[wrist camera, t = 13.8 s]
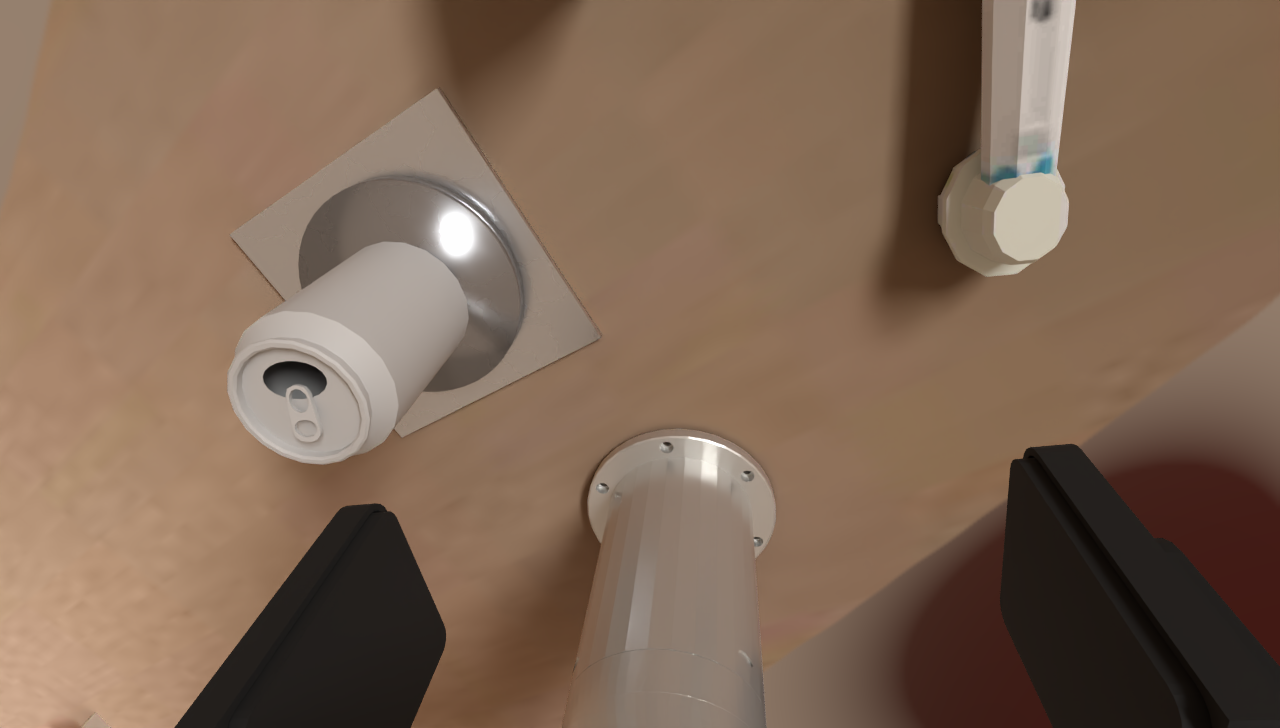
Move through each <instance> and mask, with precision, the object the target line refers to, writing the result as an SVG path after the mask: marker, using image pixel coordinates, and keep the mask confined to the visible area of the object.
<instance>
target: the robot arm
mask: <svg viewBox="0 0 1280 728" xmlns="http://www.w3.org/2000/svg"><path fill="white" fill-rule="evenodd" d="M587 504H588V517H589V520H590V524H591V527H592V530H593V531H594V533H595V535H596V537H597V539H598V541H599V542H600V543H601V547H600V552H599V557H598V561H597V566H596V570H595V575H594V579H593V584H592V588H591V593H590V597H589V602H588V607H587V611H586V616H585V620H584V625H583V629H582V634H581V638H580V643H579V648H578V652H577V657H576V661H575V666H574V670H573V675H572V681H571V685H570V690H569V694H568V698H567V703H566V708H565V713H564V717H563V724H562V728H766V714H765V699H764V684H763V669H762V654H761V639H760V624H759V609H758V594H757V579H756V564H755V559H756V558H757V557H758V556H759V555H760V553H761V552H762V551H763V550H764V549H765V548H766V546H767V544H768V542H769V540H770V538H771V536H772V534H773V530H774V526H775V522H776V505H775V498H774V492H773V489H772V486H771V484H770V481H769V478H768V477H767V475H766V474H765V472H764V471H763V469H762V468H761V466H760V465H759V464H758V463H757V462H756V461H755V460H754V459H753V458H752V457H751V456H750V455H749V454H748V453H747V452H746V451H744V450H743V449H741V448H740V447H738V446H737V445H735V444H734V443H732V442H730V441H728V440H726V439H723V438H721V437H719V436H717V435H713V434H709V433H706V432H702V431H698V430H688V429H665V430H658V431H653V432H649V433H644V434H641V435H639V436H637V437H634V438H632V439H630V440H627V441H626V442H624V443H623V444H621V445H620V446H618V447H617V448H615V449H614V450H613V451H612V452H611V453H610V454H609V455H608V456H607V457H606V458H605V459H604V460H603V461H602V462H601V464H600V465H599V467H598V469H597V470H596V472H595V474H594V477H593V480H592V483H591V486H590V490H589V495H588V500H587ZM1000 605H1001V611H1002V615H1003V619H1004V622H1005V625H1006V627H1007V630H1008V631H1009V634H1010V636H1011V638H1012V640H1013V642H1014V645H1015V647H1016V649H1017V651H1018V653H1019V655H1020V657H1021V659H1022V662H1023V664H1024V666H1025V668H1026V670H1027V673H1028V675H1029V677H1030V679H1031V681H1032V683H1033V685H1034V687H1035V690H1036V692H1037V694H1038V696H1039V698H1040V700H1041V703H1042V705H1043V707H1044V709H1045V711H1046V713H1047V716H1048V718H1049V720H1050V722H1051V724H1052V726H1053V728H1280V666H1279V665H1278V664H1277V663H1276V662H1275V661H1274V659H1273V658H1272V657H1271V656H1270V655H1269V654H1268V652H1267V651H1266V650H1265V649H1264V648H1263V646H1262V645H1261V644H1260V643H1259V642H1258V641H1257V640H1256V638H1255V637H1254V636H1253V635H1252V634H1251V633H1250V631H1249V630H1248V629H1247V628H1246V627H1245V625H1244V624H1243V623H1242V622H1241V621H1240V619H1239V618H1238V617H1237V616H1236V615H1235V614H1234V613H1233V611H1232V610H1231V609H1230V608H1229V607H1228V605H1227V604H1226V603H1225V602H1224V601H1223V600H1222V598H1221V597H1220V596H1219V595H1218V594H1217V592H1216V591H1215V590H1214V589H1213V588H1212V587H1211V586H1210V584H1209V583H1208V582H1207V581H1206V580H1205V578H1204V577H1203V576H1202V575H1201V574H1200V573H1199V571H1198V570H1197V569H1196V568H1195V567H1194V565H1193V564H1192V563H1191V562H1190V561H1189V560H1188V558H1187V557H1186V556H1185V555H1184V554H1183V553H1182V552H1181V551H1180V550H1179V549H1178V548H1177V547H1176V546H1175V545H1174V544H1173V543H1172V542H1170V541H1168V540H1165V539H1163V538H1153V536H1152V535H1151V534H1150V533H1149V531H1148V530H1147V529H1146V528H1145V527H1144V525H1143V524H1142V523H1141V522H1140V521H1139V519H1138V518H1137V517H1136V516H1135V514H1134V513H1133V512H1132V511H1131V510H1130V508H1129V507H1128V506H1127V505H1126V503H1125V502H1124V501H1123V500H1122V499H1121V497H1120V496H1119V495H1118V494H1117V493H1116V491H1115V490H1114V489H1113V488H1112V486H1111V485H1110V484H1109V483H1108V482H1107V480H1106V479H1105V478H1104V477H1103V475H1102V474H1101V473H1100V472H1099V471H1098V469H1097V468H1096V467H1095V466H1094V464H1093V463H1092V462H1091V461H1090V460H1089V458H1088V457H1087V456H1086V455H1085V454H1084V452H1083V451H1082V450H1081V449H1080V448H1079V447H1078V446H1077V445H1074V444H1065V445H1053V446H1042V447H1030V448H1028V449H1026V451H1025V453H1024V457H1023V459H1015V460H1013V461H1012V463H1011V467H1010V478H1009V491H1008V503H1007V516H1006V529H1005V542H1004V555H1003V568H1002V581H1001V593H1000ZM445 642H446V630H445V626H444V624H443V621H442V619H441V617H440V614H439V612H438V610H437V608H436V605H435V603H434V601H433V599H432V596H431V594H430V592H429V590H428V587H427V585H426V583H425V581H424V578H423V576H422V574H421V572H420V569H419V567H418V565H417V563H416V560H415V558H414V556H413V553H412V551H411V549H410V547H409V544H408V542H407V540H406V538H405V535H404V533H403V531H402V529H401V526H400V524H399V522H398V520H397V518H396V516H395V514H393V513H392V512H387V510H386V508H385V507H384V506H382V505H381V504H364V505H352V506H345V507H343V508H341V509H340V510H339V511H338V512H337V513H336V515H335V516H334V517H333V519H332V520H331V521H330V523H329V524H328V525H327V526H326V528H325V529H324V530H323V532H322V533H321V534H320V536H319V537H318V538H317V540H316V541H315V542H314V544H313V545H312V546H311V548H310V549H309V550H308V552H307V553H306V554H305V556H304V557H303V558H302V560H301V561H300V562H299V564H298V565H297V566H296V568H295V569H294V570H293V571H292V573H291V574H290V575H289V577H288V578H287V579H286V581H285V582H284V583H283V585H282V586H281V587H280V589H279V590H278V591H277V593H276V594H275V595H274V597H273V598H272V599H271V601H270V602H269V603H268V605H267V606H266V607H265V609H264V610H263V611H262V613H261V614H260V615H259V616H258V618H257V619H256V620H255V622H254V623H253V624H252V626H251V627H250V628H249V630H248V631H247V632H246V634H245V635H244V636H243V638H242V639H241V640H240V642H239V643H238V644H237V646H236V647H235V648H234V650H233V651H232V652H231V654H230V655H229V656H228V657H227V659H226V660H225V661H224V663H223V664H222V665H221V667H220V668H219V669H218V671H217V672H216V673H215V675H214V676H213V677H212V679H211V680H210V681H209V683H208V684H207V685H206V687H205V688H204V689H203V691H202V692H201V693H200V695H199V696H198V697H197V699H196V700H195V701H194V702H193V704H192V705H191V706H190V708H189V709H188V710H187V712H186V713H185V714H184V716H183V717H182V718H181V720H180V721H179V722H178V724H177V725H176V726H175V728H411V725H412V723H413V721H414V718H415V716H416V714H417V711H418V709H419V707H420V704H421V702H422V700H423V697H424V695H425V693H426V690H427V688H428V686H429V683H430V681H431V679H432V676H433V674H434V672H435V669H436V667H437V665H438V662H439V660H440V658H441V655H442V653H443V650H444V647H445Z"/></svg>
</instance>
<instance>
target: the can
mask: <svg viewBox="0 0 1280 728" xmlns="http://www.w3.org/2000/svg"><path fill="white" fill-rule="evenodd" d="M468 320H469V316H468V308H467V299H466V297H465V295H464V293H463V290H462V288H461V286H460V284H459V281H458V280H457V278H456V277H455V276H454V275H453V274H452V272H451V271H450V270H449V269H448V268H447V266H446V265H445V264H444V263H443V262H441V261H440V260H439V259H437V258H436V257H434V256H433V255H431V254H430V253H429V252H427V251H426V250H423V249H421V248H418V247H415V246H412V245H410V244H407V243H402V242H380V243H377V244H373V245H370V246H367V247H364V248H363V249H361V250H360V251H358V252H357V253H355V254H354V255H352V256H351V257H349V258H348V259H346V260H345V261H344V262H342V263H341V264H339V265H338V266H336V267H335V268H333V269H332V270H330V271H329V272H327V273H326V274H324V275H323V276H321V277H320V278H318V279H317V280H316V281H314V282H313V283H311V284H310V285H308V286H307V287H305V288H304V289H302V290H301V291H299V292H298V293H296V294H295V295H293V296H292V297H290V298H289V299H288V300H286V301H285V302H283V303H282V304H280V305H279V306H277V307H276V308H274V309H273V310H271V311H270V312H268V313H267V314H265V315H264V316H262V317H261V318H260V319H259V320H257V321H256V322H255V323H253V324H252V325H251V326H250V327H248V328H247V329H246V330H245V331H244V332H243V334H242V337H241V339H240V341H239V343H238V345H237V347H236V349H235V358H234V360H233V362H232V364H231V366H230V368H229V370H228V378H227V392H228V395H229V398H230V401H231V404H232V407H233V410H234V412H235V413H236V415H237V416H238V418H239V419H240V421H241V422H242V424H243V425H244V427H245V428H246V429H247V430H248V431H249V432H250V433H251V434H252V435H253V436H254V437H255V438H256V439H257V440H258V441H259V442H261V443H262V444H263V445H265V446H266V447H268V448H270V449H271V450H273V451H275V452H276V453H278V454H280V455H281V456H284V457H287V458H290V459H293V460H296V461H299V462H302V463H308V464H320V465H326V464H331V463H336V462H340V461H344V460H345V459H347V458H349V457H350V456H353V455H358V454H363V453H367V452H368V451H370V450H372V449H373V448H375V447H376V446H378V445H380V444H381V443H383V442H384V441H385V440H386V438H387V437H388V436H389V434H390V433H391V432H392V431H393V429H394V428H395V427H396V425H397V424H398V423H399V421H400V420H401V419H402V418H403V416H404V415H405V414H406V412H407V411H408V410H409V409H410V407H411V406H412V405H413V403H414V402H415V401H416V399H417V398H418V397H419V396H420V394H421V393H422V392H423V390H424V389H425V388H426V387H427V385H428V384H429V383H430V381H431V380H432V379H433V377H434V376H435V375H436V374H437V372H438V371H439V370H440V368H441V367H442V366H443V365H444V363H445V362H446V361H447V359H448V358H449V357H450V356H451V354H452V353H453V352H454V350H455V349H456V348H457V346H458V345H459V343H460V342H461V340H462V339H463V338H464V336H465V332H466V328H467V324H468Z"/></svg>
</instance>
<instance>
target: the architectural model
mask: <svg viewBox="0 0 1280 728" xmlns="http://www.w3.org/2000/svg"><path fill="white" fill-rule="evenodd" d="M81 728H111V727H110V726H109V725H108V724H107V723H106V722H105V721H104V720H103V719H102V717H101V716H100V715H99V714H98V713H97V712H95V713H94V714H93V715H92V716H91V717H90V718H89V719H88V721H87V722H86V723H85V724H84V725H83V726H82V727H81Z"/></svg>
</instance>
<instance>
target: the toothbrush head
mask: <svg viewBox="0 0 1280 728" xmlns="http://www.w3.org/2000/svg"><path fill="white" fill-rule="evenodd" d="M1075 5H1076V0H982V100H981V148H980V149H979V150H977V151H975V152H973V153H972V154H971V155H969V156H968V157H967V158H965V159H964V160H963V161H961V162H960V163H959V164H957V165H956V166H955V167H954V168H952V169H953V170H952V172H951V174H950V176H949V178H948V180H947V183H946V185H945V187H944V189H943V191H942V193H941V195H938V224H940V226H941V228H942V233H943V235H944V237H945V239H946V241H947V243H948V245H949V247H950V249H951V251H952V253H953V255H954V256H955V258H956V260H957V261H959V262H960V263H962V264H964V265H966V266H968V267H970V268H971V269H973V270H975V271H977V272H979V273H980V274H982V275H984V276H986V277H989V276H999V275H1009V274H1017V273H1018V272H1020V271H1021V270H1023V269H1024V268H1026V267H1027V266H1028V265H1030V264H1031V263H1034V262H1035V261H1037V260H1038V259H1039V258H1041V257H1042V256H1044V255H1045V254H1047V253H1048V252H1049V251H1051V250H1052V249H1054V248H1055V247H1056V245H1057V244H1058V242H1059V240H1060V238H1061V237H1062V235H1063V233H1064V231H1065V229H1066V228H1067V222H1068V209H1069V201H1068V198H1067V195H1066V193H1065V185H1064V183H1063V181H1062V178H1061V176H1060V174H1059V172H1058V170H1057V161H1058V152H1059V144H1060V135H1061V126H1062V118H1063V109H1064V100H1065V92H1066V83H1067V74H1068V66H1069V57H1070V48H1071V40H1072V31H1073V22H1074V14H1075Z"/></svg>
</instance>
